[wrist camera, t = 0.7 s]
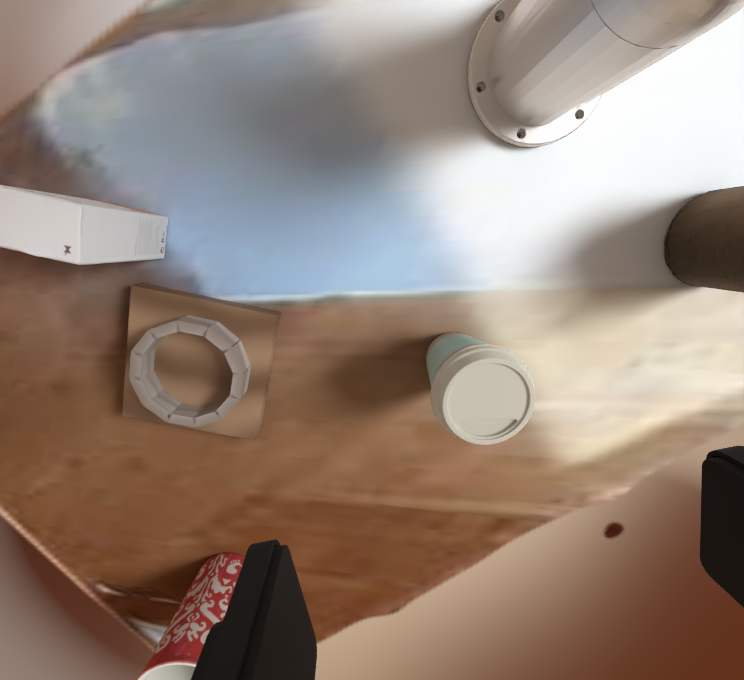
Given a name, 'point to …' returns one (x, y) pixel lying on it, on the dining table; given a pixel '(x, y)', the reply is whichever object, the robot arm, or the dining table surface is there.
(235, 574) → the mug
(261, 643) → the robot arm
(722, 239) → the pillar candle
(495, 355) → the coffee cup
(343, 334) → the dining table surface
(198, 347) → the ring stand
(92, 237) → the skincare box
